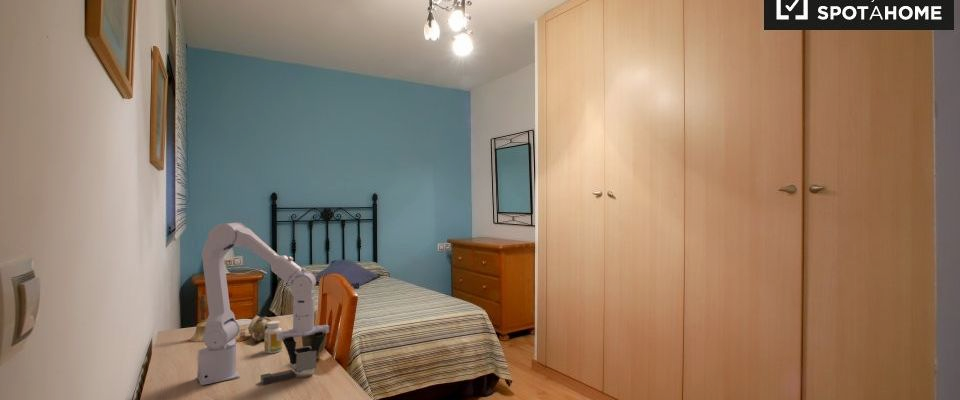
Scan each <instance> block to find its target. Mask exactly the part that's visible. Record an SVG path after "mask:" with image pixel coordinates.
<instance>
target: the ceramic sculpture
mask: <svg viewBox="0 0 960 400" xmlns="http://www.w3.org/2000/svg"><path fill="white" fill-rule="evenodd" d="M270 321H272V320H271V319H269V318H268V317H267V316H266V315H260V316H259V315H254V317H253V318H252V319H251V321H250V322H249V325H248V326H247V329H248V333H249V334H250V336H251V339H252V340H253V341H255V342H259V341H265V330H266V329H267V328H268V327H267V322H270Z"/></svg>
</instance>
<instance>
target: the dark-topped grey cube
mask: <svg viewBox="0 0 960 400" xmlns="http://www.w3.org/2000/svg"><path fill="white" fill-rule="evenodd" d="M289 363H290V362H289ZM289 367H290V368H291V370H292V369H294V370H295V371H296V372H299V371H304V370H308V369H313V368H314V369H317V360H316V350H315V349H314V348H312V347H311V346H306V347H303V346H302V347H297V348H296V347H295V364H291V363H290V364H289Z"/></svg>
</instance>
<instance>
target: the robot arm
mask: <svg viewBox="0 0 960 400" xmlns="http://www.w3.org/2000/svg"><path fill="white" fill-rule="evenodd" d="M207 235H208V236H207V239H206V242H205V244H204V246H203V249H202V251H201V259H202V266H203V267H202V269H203V274H204V285H205V292H206V298H207V301H208V306H207V310H208V316H207V317H206V319H207V321H206V323H205V328H206V329H205V333H204V335H203V341H204V342H203V343H204V345H205V347H204V348H201V349H198V352H197V372H196V373H197V380H198V381H199V383H200V385H201V386H205V385H209V384H214V383H219V382H222V381H228V380H233V379H238V378H240V376H241V375H240V374H239V372H238V371H237V340H236V337H237V336H238V335H239V334H240V324H239V323H238V321H237V320H236V317H235V313H234V312H233V311H232V310H231V306H230V304H231V303H230V297H229V296H230V295H229V289H228V281H227V279H228V278H227V273H226V271H227V270H226V262H225V256H226V255H227V253H228V252H230V251H231V249H232V248H234V247H239V248H247V249H249V250H250V251H252V252H253V253H254V254H256V255H257V256H258V257H260V258H261V259H263V261H265V262H267V263H268V264H269V266H270V270H271V272H272V273H274V274H275V275H277V277H278V278H280V280H281V279H282V281H284V282H285V283H286V284H287V285H289V286H290V290H291V291H292V293H293V301H292V302H293V304H292V309H293V310H292V311H293V312H292V329H288V330H282V332H279V333H276V340H277V341H282V343H283V344H284V345H285V348H286V351H287V354H288V358H289V363H291V364H295V349H296V345H297V342H296V341H295V338H302V336H307V335H311V344H312V348H314V349H315V350H316V357H317V353H318V350H319V347H320V345H321V343H322V341H323V339H324V332H325V333H326V334H328V333H330V325H328V324H322V325H315V296H314V295H315V290H314V288H315V286H316V285H317V277H316V275H314V274H313V272H312V271H310V270H309V271H307V269H306V268H305V267H301V266H300V265H298V264H297V263H296V262H295V261H294V257H292V256H287V255H279V254H278V253H277V252H276V251H275V250H273V248H272V247H270V246H269V245H268V244H267V243H266V242H264V241H263V239H261V238H260V237H259V236H258V235H256V233H255V232H253V230H251V229H250V228H249V227H246V225H244V224H243V223H241V222H239V221H238V222H236V221H234V222H229V223H219V224H216V225H215V226H214V227H213V228H212V229H211V230H210V231H208V233H207Z"/></svg>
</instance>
